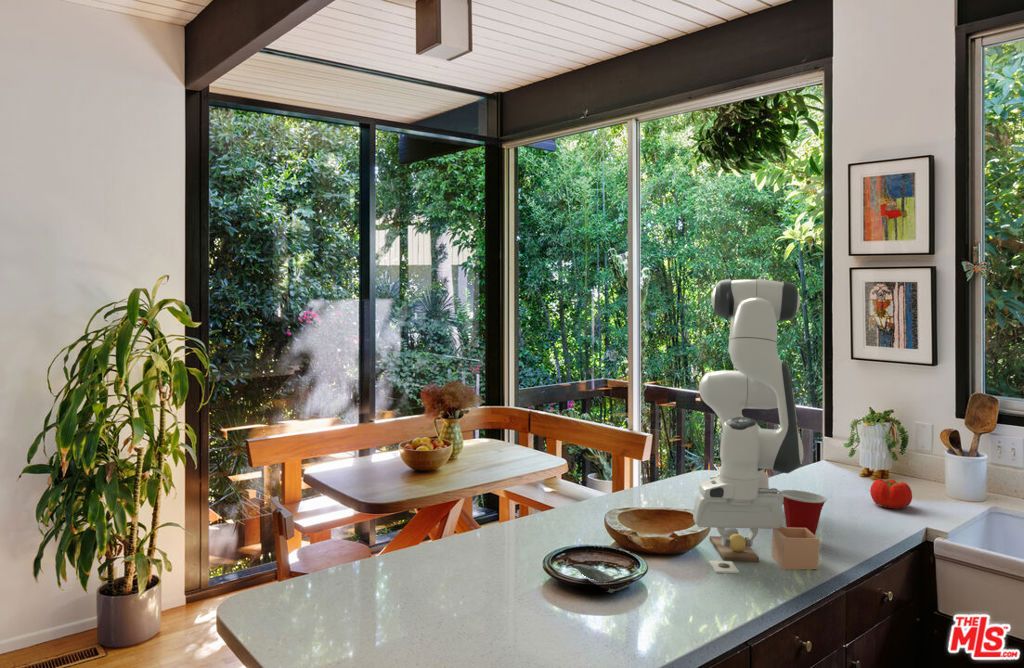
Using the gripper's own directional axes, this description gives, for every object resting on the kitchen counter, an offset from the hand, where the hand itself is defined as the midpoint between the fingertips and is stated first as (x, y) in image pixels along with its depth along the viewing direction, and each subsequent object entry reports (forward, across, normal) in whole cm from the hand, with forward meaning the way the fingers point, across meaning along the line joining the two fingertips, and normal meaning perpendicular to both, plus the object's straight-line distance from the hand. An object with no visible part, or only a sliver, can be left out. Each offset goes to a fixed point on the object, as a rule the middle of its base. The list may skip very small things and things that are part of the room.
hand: (736, 545), depth 168 cm
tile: (+2, +5, +8) cm, 10 cm away
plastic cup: (+2, -19, -11) cm, 22 cm away
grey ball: (-1, 0, -6) cm, 6 cm away
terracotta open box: (+2, -12, +4) cm, 13 cm away
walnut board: (+2, 0, -3) cm, 4 cm away
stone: (+3, +33, +19) cm, 38 cm away
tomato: (+3, -56, -43) cm, 71 cm away
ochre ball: (-1, 0, 0) cm, 1 cm away
